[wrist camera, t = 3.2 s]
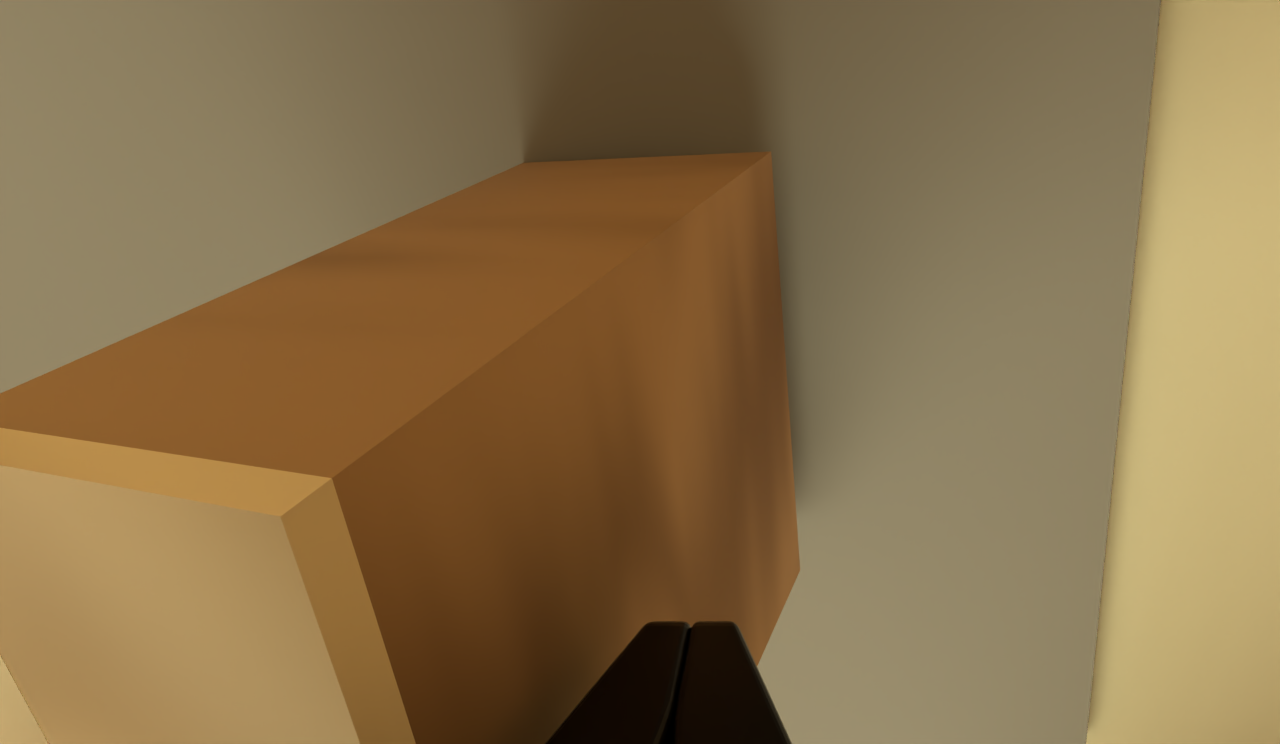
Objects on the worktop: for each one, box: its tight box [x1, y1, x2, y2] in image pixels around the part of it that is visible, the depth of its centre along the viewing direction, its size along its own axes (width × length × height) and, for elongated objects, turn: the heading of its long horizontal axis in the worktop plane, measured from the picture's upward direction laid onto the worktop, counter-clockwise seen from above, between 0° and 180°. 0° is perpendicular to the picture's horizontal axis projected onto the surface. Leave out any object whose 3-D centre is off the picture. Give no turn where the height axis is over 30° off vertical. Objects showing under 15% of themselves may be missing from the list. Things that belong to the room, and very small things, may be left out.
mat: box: [0, 0, 1161, 744], centre depth 16 cm, size 18×22×1 cm
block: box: [0, 151, 800, 744], centre depth 11 cm, size 7×4×9 cm, turn 8°
